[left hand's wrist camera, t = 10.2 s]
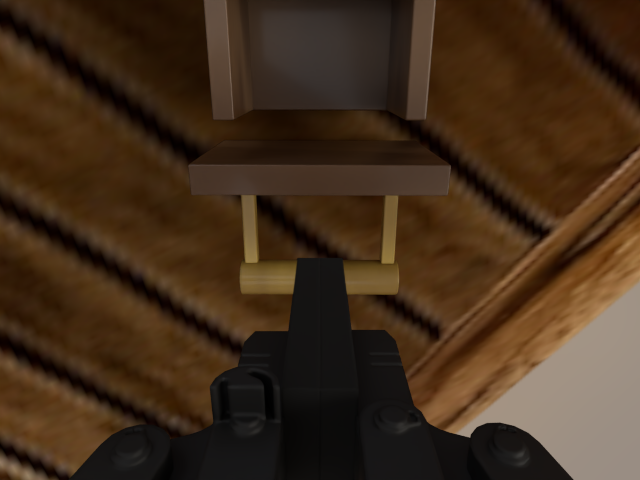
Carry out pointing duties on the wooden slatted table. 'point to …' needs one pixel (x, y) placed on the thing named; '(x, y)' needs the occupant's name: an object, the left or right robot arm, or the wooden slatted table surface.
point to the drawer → (319, 94)
